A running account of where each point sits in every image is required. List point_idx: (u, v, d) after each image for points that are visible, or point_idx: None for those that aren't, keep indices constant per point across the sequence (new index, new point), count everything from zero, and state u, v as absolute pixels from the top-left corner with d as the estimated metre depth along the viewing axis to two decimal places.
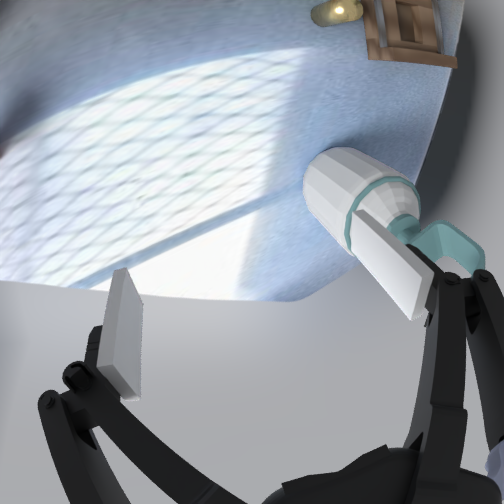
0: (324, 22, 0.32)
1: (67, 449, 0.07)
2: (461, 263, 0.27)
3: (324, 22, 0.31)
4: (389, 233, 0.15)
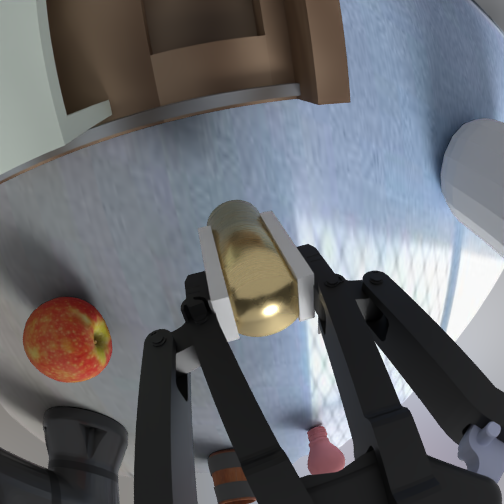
0: None
1: (159, 393, 0.09)
2: None
3: None
4: (285, 234, 0.16)
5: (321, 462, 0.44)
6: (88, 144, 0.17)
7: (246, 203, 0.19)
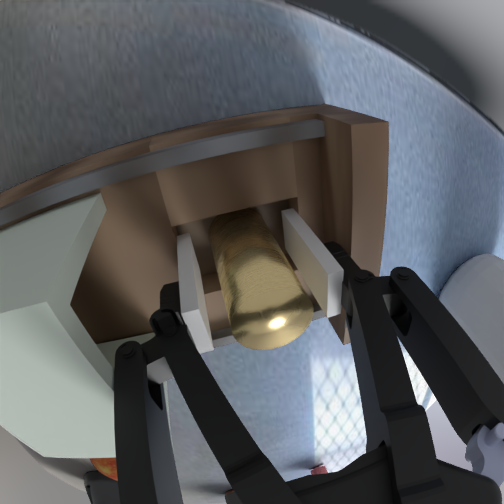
0: None
1: (133, 404, 0.09)
2: None
3: None
4: (310, 231, 0.16)
5: None
6: None
7: (250, 209, 0.18)
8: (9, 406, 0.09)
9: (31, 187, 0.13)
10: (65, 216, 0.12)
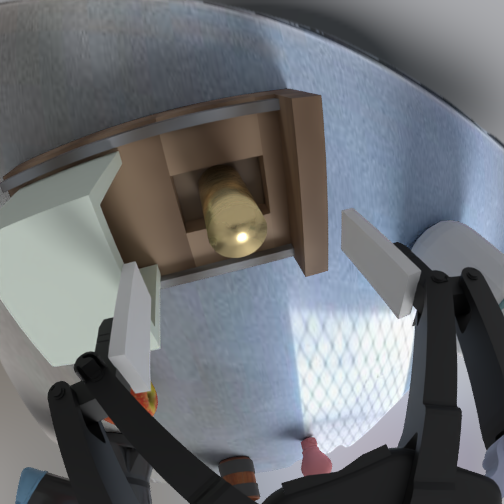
0: None
1: (75, 441, 0.07)
2: None
3: None
4: (377, 231, 0.15)
5: (312, 467, 0.55)
6: None
7: (229, 167, 0.24)
8: (36, 301, 0.15)
9: (67, 147, 0.18)
10: (94, 164, 0.18)
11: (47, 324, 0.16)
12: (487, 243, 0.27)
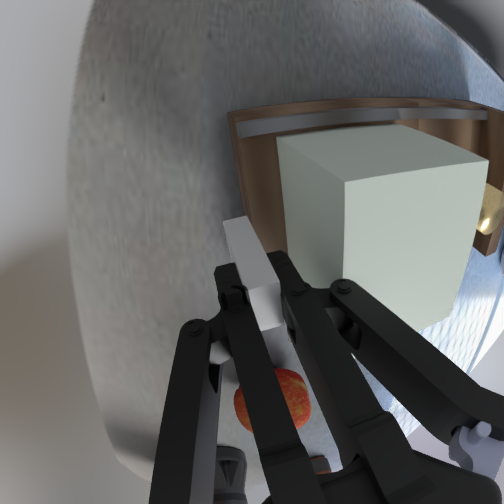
0: None
1: (190, 384, 0.09)
2: None
3: None
4: (256, 240, 0.16)
5: None
6: None
7: None
8: (392, 272, 0.14)
9: (337, 104, 0.17)
10: (399, 130, 0.17)
11: None
12: None
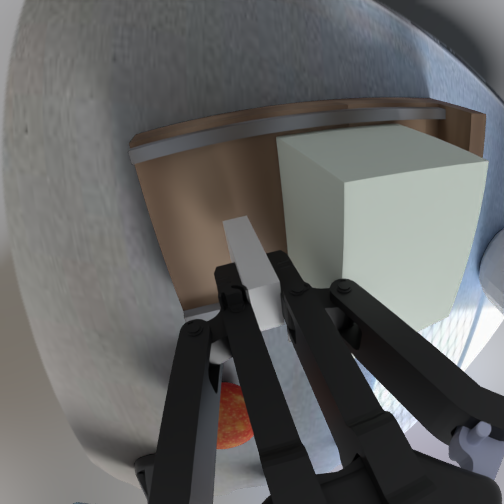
0: None
1: (190, 384, 0.09)
2: None
3: None
4: (256, 240, 0.16)
5: None
6: None
7: None
8: (392, 272, 0.14)
9: (240, 117, 0.17)
10: (399, 130, 0.17)
11: None
12: None
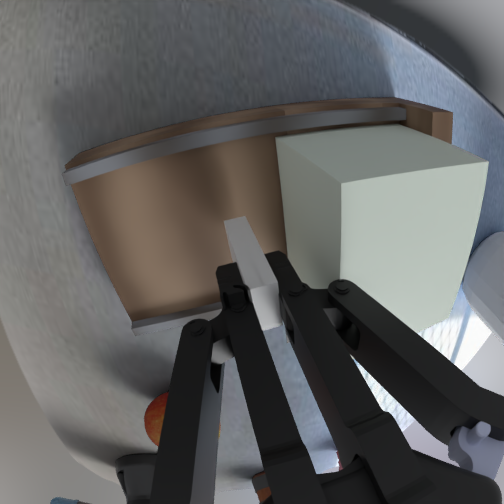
0: None
1: (192, 383, 0.09)
2: None
3: None
4: (254, 240, 0.16)
5: None
6: None
7: None
8: (390, 273, 0.14)
9: (166, 133, 0.16)
10: (399, 130, 0.17)
11: None
12: None
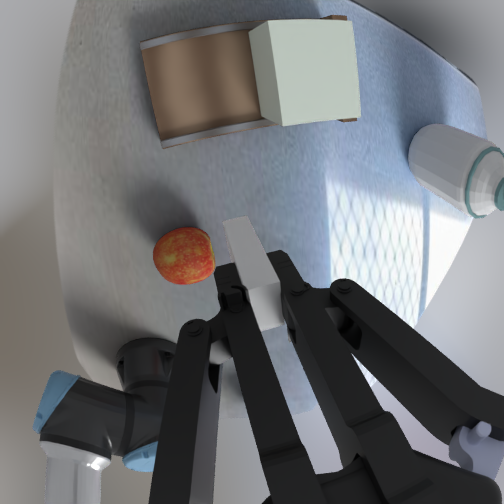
0: None
1: (190, 384, 0.09)
2: None
3: None
4: (256, 240, 0.16)
5: None
6: (229, 132, 0.36)
7: None
8: (302, 65, 0.25)
9: (195, 29, 0.28)
10: None
11: (301, 84, 0.26)
12: None
